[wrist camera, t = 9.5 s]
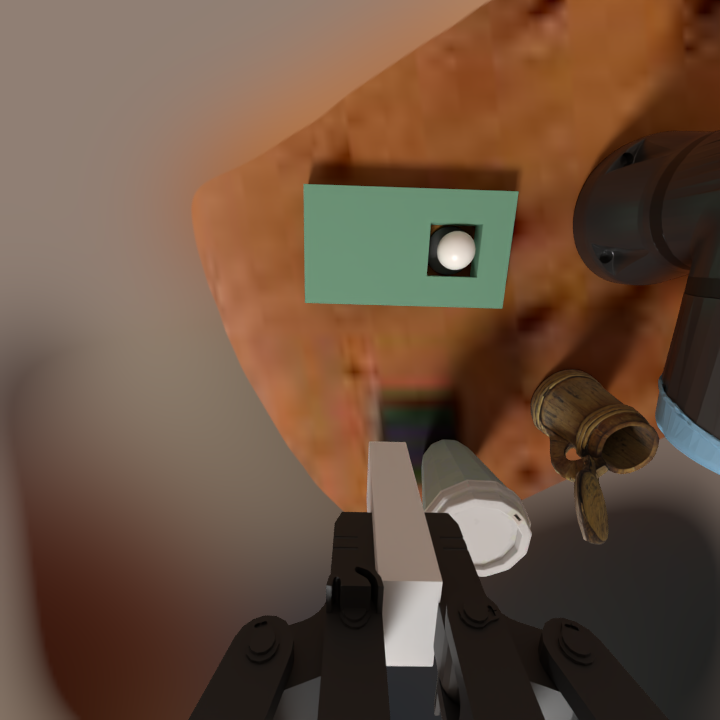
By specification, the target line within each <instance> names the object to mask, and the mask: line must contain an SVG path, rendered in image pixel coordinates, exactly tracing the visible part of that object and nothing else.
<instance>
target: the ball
mask: <svg viewBox="0 0 720 720" xmlns="http://www.w3.org/2000/svg"><path fill="white" fill-rule="evenodd" d="M475 250H476V249H475V243H474V240H473V239H472V237H471V236H470V235H468V234H467V233H465V232H462V231H453V232H450V233H448V234H446V235H445V236H444V237H443V238H442V239H441V240H440V242H439V244H438V247H437V256H438V259H439V261H440V263H441V264H442V265H443V266H444V267H446V268H448V269H451V270H459V269H462V268H464V267H466V266H467V265H468V264H470V262H471V261H472V260H473V258H474V255H475Z"/></svg>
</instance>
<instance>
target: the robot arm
mask: <svg viewBox="0 0 720 720" xmlns="http://www.w3.org/2000/svg"><path fill="white" fill-rule="evenodd" d="M573 234H574V240H575V244H576V248H577V250H578V253H579V255H580V257H581V259H582V260H583V262H584V263H585V264H586V266H587V267H588V268H589V269H590V270H591V271H592V272H594V273H595V274H596V275H598V276H599V277H601V278H603V279H605V280H607V281H610V282H614V283H619V284H629V285H650V284H656V283H661V282H664V281H667V280H671V279H674V278H677V277H681V276H684V275H687V274H689V276H688V280H687V284H686V288H685V292H684V294H683V298H682V302H681V306H680V310H679V314H678V318H677V322H676V326H675V330H674V334H673V338H672V341H671V345H670V349H669V352H668V356H667V360H666V363H665V367H664V371H663V373H662V375H661V376H660V378H659V380H658V387H659V396H658V402H657V407H656V413H655V417H656V422H657V425H658V427H659V428H660V430H661V431H662V433H663V434H664V435H665V437H666V439H667V440H668V441H669V442H670V443H671V444H672V445H673V446H674V447H676V448H677V449H678V450H679V451H681V452H682V453H684V454H685V455H686V456H688V457H689V458H691V459H692V460H694V461H695V462H697V463H699V464H701V465H702V466H704V467H706V468H707V469H709V470H711V471H713V472H715V473H717V474H719V475H720V130H718V131H715V132H699V131H666V132H660V133H656V134H652V135H649V136H646V137H643V138H641V139H638V140H636V141H634V142H631V143H629V144H627V145H625V146H623V147H621V148H619V149H617V150H616V151H614V152H613V153H612V154H610V155H609V156H608V157H607V158H605V159H604V160H603V161H602V162H601V163H600V164H599V165H598V166H597V167H596V169H595V170H594V171H593V172H592V174H591V175H590V176H589V178H588V179H587V181H586V183H585V184H584V186H583V188H582V190H581V193H580V195H579V198H578V200H577V204H576V207H575V212H574V219H573ZM434 653H435V658H436V663H437V668H438V679H437V687H436V695H435V703H434V705H435V706H434V713H435V714H434V715H439V712H440V711H441V716H442V720H669V719H668V718H667V717H666V716H665V715H664V714H663V712H662V711H661V710H660V709H659V708H658V707H657V706H656V704H655V703H654V702H653V701H652V700H651V699H650V697H649V696H648V695H647V694H646V693H645V692H644V691H643V689H642V688H641V687H640V686H639V685H638V684H637V682H636V681H635V680H634V679H633V678H632V677H631V676H630V674H629V673H628V672H627V671H626V670H625V669H624V667H623V666H622V665H621V664H620V663H619V662H618V660H617V659H616V658H615V657H614V656H613V655H612V654H611V652H610V651H609V650H608V649H607V648H606V647H605V646H604V644H603V643H602V642H601V641H600V640H599V639H598V638H597V637H596V636H595V635H594V634H593V633H592V632H591V631H590V630H588V629H587V628H585V627H583V626H582V625H580V624H578V623H577V622H574V621H571V620H568V619H565V618H553V619H551V620H549V621H548V622H546V623H545V625H544V628H543V630H542V629H538V628H535V627H532V626H529V625H526V624H523V623H520V622H517V621H515V620H512V619H510V618H508V617H507V616H505V615H504V614H502V613H501V611H500V610H499V608H498V607H497V605H496V604H495V603H494V602H493V601H491V600H490V599H489V598H488V597H487V596H486V594H485V592H484V590H483V588H482V585H481V582H480V579H479V577H478V574H477V571H476V569H475V566H474V564H473V561H472V558H471V556H470V553H469V551H468V549H467V545H466V543H465V540H464V539H463V535H462V532H461V530H460V527H459V524H458V523H457V522H456V521H455V520H454V519H453V518H452V517H451V516H450V515H449V513H427V512H424V510H423V506H422V502H421V498H420V495H419V491H418V487H417V483H416V480H415V476H414V472H413V468H412V465H411V461H410V457H409V453H408V450H407V446H406V442H369V456H368V481H367V512H342V513H341V514H340V516H339V517H338V519H337V521H336V522H335V527H334V539H333V552H332V564H331V575H330V576H329V578H328V582H327V585H326V603H325V605H324V606H323V607H322V608H321V610H320V611H319V612H318V613H316V614H315V615H314V616H312V617H310V618H308V619H306V620H304V621H301V622H298V623H295V624H292V625H288V624H287V622H286V621H284V620H283V619H281V618H279V617H277V616H262V617H259V618H256V619H253V620H252V621H250V622H249V623H247V624H246V625H244V626H243V627H242V629H241V630H240V631H239V632H238V634H237V635H236V636H235V638H234V639H233V641H232V643H231V645H230V646H229V648H228V650H227V652H226V654H225V655H224V657H223V659H222V661H221V663H220V664H219V667H218V668H217V670H216V672H215V673H214V675H213V677H212V679H211V680H210V682H209V684H208V686H207V688H206V689H205V691H204V693H203V695H202V696H201V698H200V700H199V702H198V704H197V706H196V707H195V709H194V711H193V712H192V714H191V716H190V718H189V720H390V710H389V696H388V684H387V670H386V666H433V659H434Z"/></svg>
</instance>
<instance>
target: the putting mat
mask: <svg viewBox="0 0 720 720" xmlns="http://www.w3.org/2000/svg"><path fill="white" fill-rule="evenodd" d="M518 192H519V191H490V190H462V189H433V188H404V187H375V186H346V185H317V184H304V254H305V303H329V304H363V305H398V306H433V307H468V308H502V307H503V300H504V292H505V285H506V278H507V271H508V264H509V257H510V249H511V242H512V235H513V228H514V221H515V213H516V206H517V199H518ZM431 225H455V226H475V235H474V243H475V249H476V250H475V255H474V258H473V260H472V262H471V271H470V277H464V276H431V275H427V266H428V263H429V265H430V267H431V268H432V269H433V270H435V271H436V272H438V273H440V274H445V275H451V274H455V273H457V272H459V271H461V270H462V269H464V268H465V267H464V268H462V269H459V270H451V269H448V268H446V267H444V266H443V265H442V264H441V263H440V261H439V259H438V256H437V247H438V244H439V242H440V240H441V239H442V238H443V237H444V236H445V235H446V234H448V233H450V232H453V231H462V232H464V231H463V230H462V229H460V228H457V227H445V228H442V229H439V230H438V231H436V232H435V233H434V234H433V235H432V236H431V237H430V228H431ZM465 233H466V232H465Z"/></svg>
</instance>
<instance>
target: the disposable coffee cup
mask: <svg viewBox="0 0 720 720" xmlns="http://www.w3.org/2000/svg"><path fill="white" fill-rule="evenodd" d="M422 498H423V510H424V512H427V513H449V515H450V516H451V517H452V518H453V519H454V520H455V521H456V522H457V523H458V524H459V527H460V530H461V532H462V535H463V539H464V540H465V543H466V545H467V549H468V551H469V553H470V556H471V558H472V561H473V564H474V566H475V569H476V571H477V574H478V576H483V577H486V576H489V575H492V574H496V573H498V572H502V571H505V570H508V569H510V568H511V567H512V566H513V565H514V564H516V562H518V561H519V560H520V559H521V558H522V557H523V556H524V555H525V554H526V553H527V550H528V546H529V542H530V538H531V535H532V533H531V530H530V526H531V522H530V520H529V518H528V514H527V512H526V510H525V508H524V506H523V503H522V501H521V499H520V498H519V497H518V496H517V495H516V494H515V492H513V491H512V490H510V489H508V488H507V487H506V486H505V485H504V484H503V483H502V482H501V481H500V480H499V479H498V478H497V477H496V476H495V475H494V474H493V473H492V472H491V471H490V470H489V469H488V468H487V467H486V466H485V465H484V464H483V463H482V462H481V460H480V459H479V458H478V457H477V456H476V455H475V454H474V453H473V452H472V451H471V450H470V449H469V448H468V447H466V446H465V445H463V444H461V443H460V442H458V441H455V440H443V439H442V440H440V441H438V442H436V443H433V444H431V445H430V447H429V448H428V449H427V451H426V452H425V453H424V455H423V460H422Z"/></svg>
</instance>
